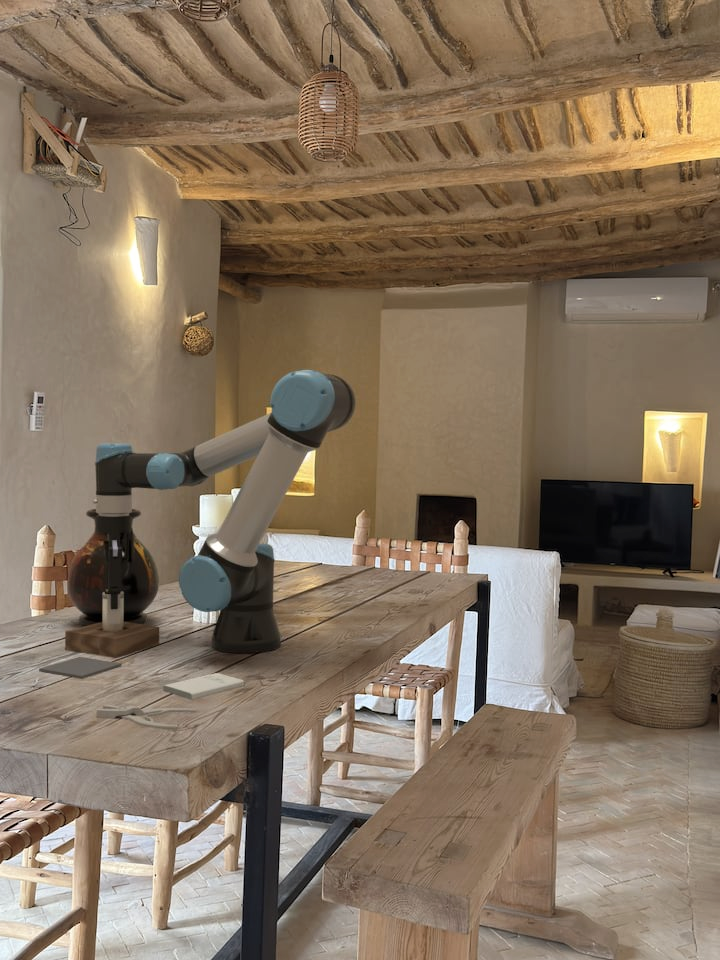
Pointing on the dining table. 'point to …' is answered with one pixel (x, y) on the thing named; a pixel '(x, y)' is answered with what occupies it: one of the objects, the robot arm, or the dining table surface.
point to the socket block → (111, 639)
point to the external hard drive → (203, 686)
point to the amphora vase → (91, 577)
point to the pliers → (125, 713)
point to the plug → (106, 626)
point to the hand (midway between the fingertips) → (113, 621)
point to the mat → (80, 667)
